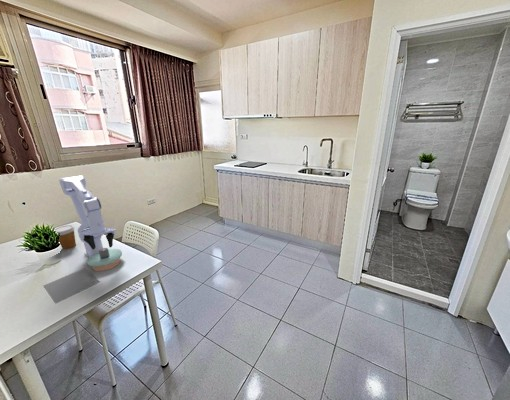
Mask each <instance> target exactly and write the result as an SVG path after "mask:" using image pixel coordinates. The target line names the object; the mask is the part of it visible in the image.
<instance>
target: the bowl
mask: <svg viewBox="0 0 510 400" xmlns="http://www.w3.org/2000/svg"><path fill="white" fill-rule="evenodd" d="M119 263H121V257H120V258H119V259H118V260H116V261H114V262H112V263H110V264H107V265H104V266H97V267H93V266H91V268H92V269H93V270H94V271H96V272H102V271H107V270H110V269H112V268H114V267H117V265H119Z"/></svg>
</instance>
